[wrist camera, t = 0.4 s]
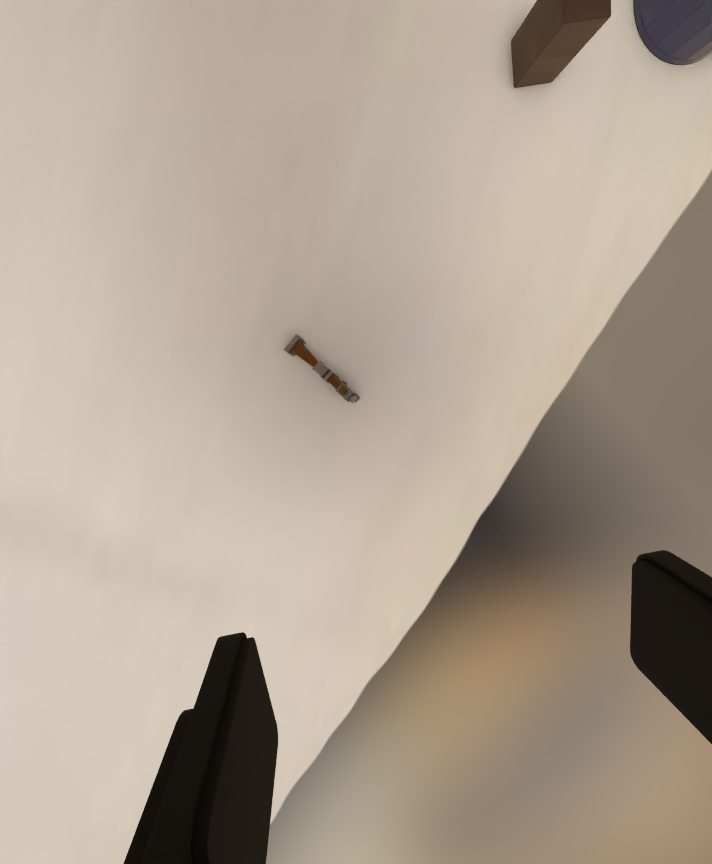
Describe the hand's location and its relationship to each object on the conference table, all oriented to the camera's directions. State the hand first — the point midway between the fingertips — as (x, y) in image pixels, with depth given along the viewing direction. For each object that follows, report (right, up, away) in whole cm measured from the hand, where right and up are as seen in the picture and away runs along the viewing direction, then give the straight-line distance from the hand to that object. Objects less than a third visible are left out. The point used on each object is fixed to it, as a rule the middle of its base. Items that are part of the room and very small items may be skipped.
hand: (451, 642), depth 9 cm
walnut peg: (+13, +36, +23) cm, 45 cm away
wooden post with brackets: (-5, +11, +28) cm, 31 cm away
